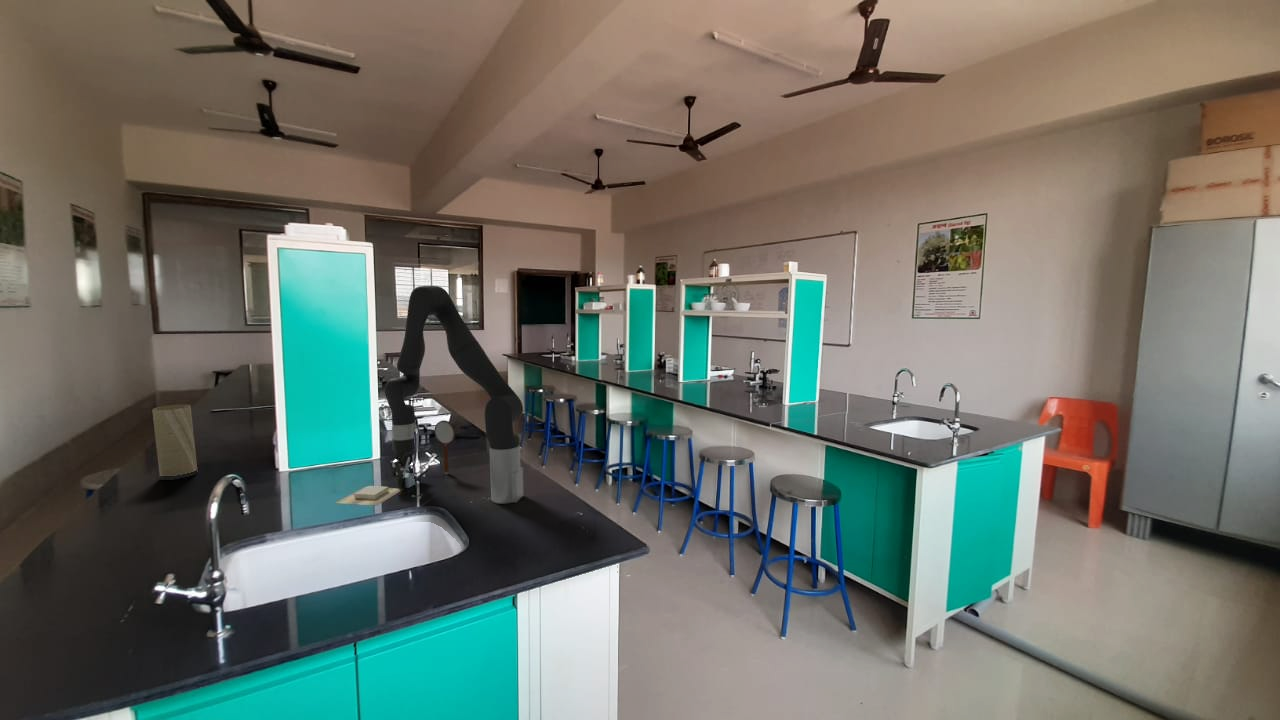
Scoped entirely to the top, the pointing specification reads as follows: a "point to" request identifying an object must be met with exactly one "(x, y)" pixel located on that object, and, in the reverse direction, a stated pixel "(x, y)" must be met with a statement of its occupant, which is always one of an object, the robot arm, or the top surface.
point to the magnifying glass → (445, 437)
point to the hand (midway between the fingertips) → (407, 484)
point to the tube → (174, 440)
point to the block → (409, 479)
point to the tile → (371, 492)
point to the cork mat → (377, 501)
